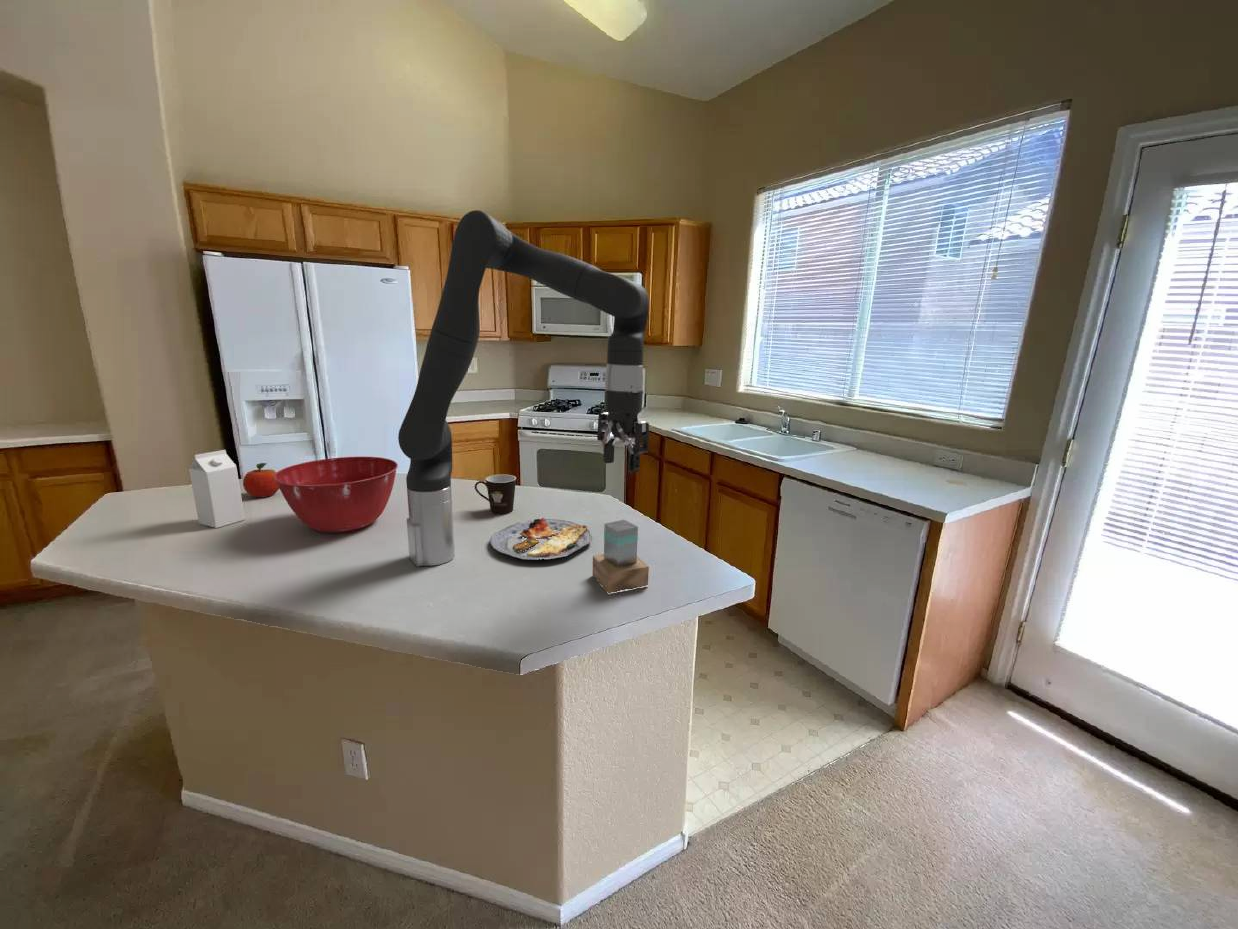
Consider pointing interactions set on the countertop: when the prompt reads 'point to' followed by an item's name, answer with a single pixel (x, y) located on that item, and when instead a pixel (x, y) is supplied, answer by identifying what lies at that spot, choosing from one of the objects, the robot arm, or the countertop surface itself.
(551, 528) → the food plate
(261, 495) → the fruit
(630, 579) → the tan block
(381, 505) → the mixing bowl
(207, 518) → the milk carton
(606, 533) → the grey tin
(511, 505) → the coffee mug
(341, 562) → the countertop surface
